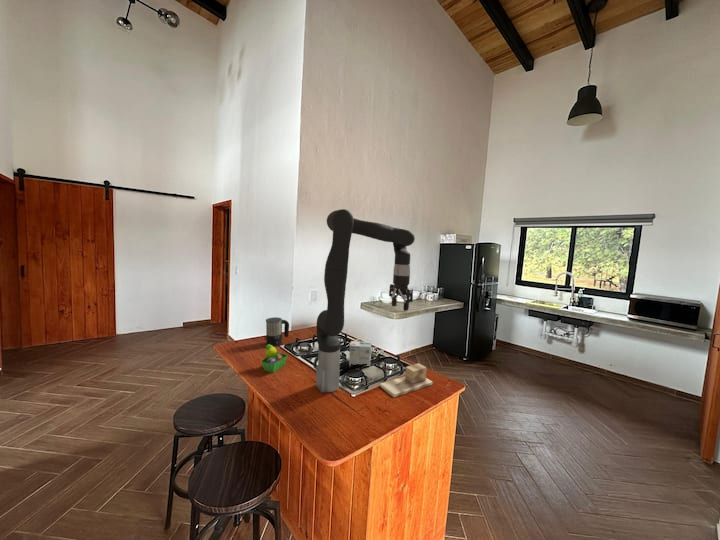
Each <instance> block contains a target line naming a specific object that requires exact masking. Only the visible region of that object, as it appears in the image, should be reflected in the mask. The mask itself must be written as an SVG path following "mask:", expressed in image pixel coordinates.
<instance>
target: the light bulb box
mask: <svg viewBox="0 0 720 540" xmlns="http://www.w3.org/2000/svg"><path fill="white" fill-rule="evenodd" d="M348 358H349V361H348V365H349V366H351V364H355V363H356V364H367V365H368V366H370V367H371V362H370V361H372V359H371V358H372V342H371V341H358V340H356V341H354V340H351V341H350V344H349V357H348Z"/></svg>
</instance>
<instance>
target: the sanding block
mask: <svg viewBox="0 0 720 540" xmlns="http://www.w3.org/2000/svg"><path fill="white" fill-rule="evenodd" d="M404 371H405V374H404V376H405V380H406V381H408V382H409V383H411V384H412V385H413V384H416V383H419V382H422V381H425V380H426V378H427V367H426V366H425V365H424V364H423V365H422V364H421V363H419V362H418V363H415V364H410V365H408V366H405V370H404Z"/></svg>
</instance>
